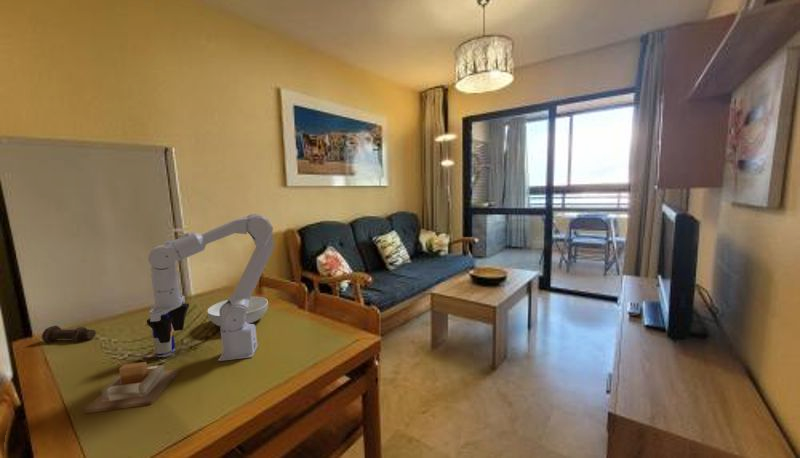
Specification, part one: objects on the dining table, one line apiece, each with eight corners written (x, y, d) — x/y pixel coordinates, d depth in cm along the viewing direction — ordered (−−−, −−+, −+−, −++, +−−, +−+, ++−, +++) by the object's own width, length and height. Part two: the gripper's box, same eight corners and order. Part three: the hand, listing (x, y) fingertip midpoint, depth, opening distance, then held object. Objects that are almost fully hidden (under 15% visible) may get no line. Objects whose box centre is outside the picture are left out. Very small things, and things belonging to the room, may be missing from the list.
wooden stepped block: (152, 380, 85) (149, 358, 85) (141, 392, 81) (138, 369, 80) (131, 383, 84) (128, 361, 84) (118, 395, 80) (115, 372, 79)
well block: (179, 371, 91) (177, 359, 90) (151, 404, 77) (149, 389, 77) (123, 378, 88) (121, 365, 88) (83, 413, 75) (81, 398, 74)
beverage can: (165, 359, 98) (158, 312, 96) (151, 358, 99) (144, 311, 97) (179, 350, 103) (174, 306, 101) (166, 349, 104) (160, 305, 102)
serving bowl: (254, 333, 114) (252, 315, 113) (196, 335, 114) (194, 316, 113) (277, 311, 134) (276, 295, 133) (228, 312, 135) (226, 296, 134)
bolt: (91, 345, 113) (49, 345, 113) (102, 333, 117) (61, 333, 117) (81, 335, 109) (37, 335, 109) (93, 323, 113) (50, 323, 113)
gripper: (164, 282, 95) (169, 326, 96) (133, 299, 81) (140, 350, 82) (190, 280, 96) (195, 324, 98) (165, 296, 82) (171, 346, 84)
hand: (172, 335), depth 90 cm, fingers open, 7 cm apart
